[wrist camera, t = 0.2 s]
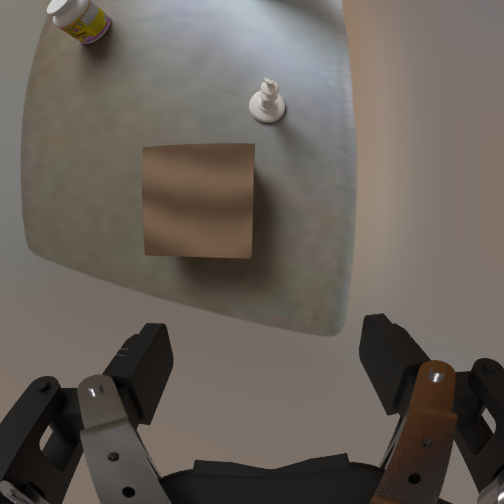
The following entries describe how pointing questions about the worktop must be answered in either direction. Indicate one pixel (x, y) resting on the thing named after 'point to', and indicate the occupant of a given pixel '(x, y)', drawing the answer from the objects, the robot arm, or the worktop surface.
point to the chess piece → (267, 103)
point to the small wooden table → (198, 200)
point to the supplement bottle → (79, 19)
